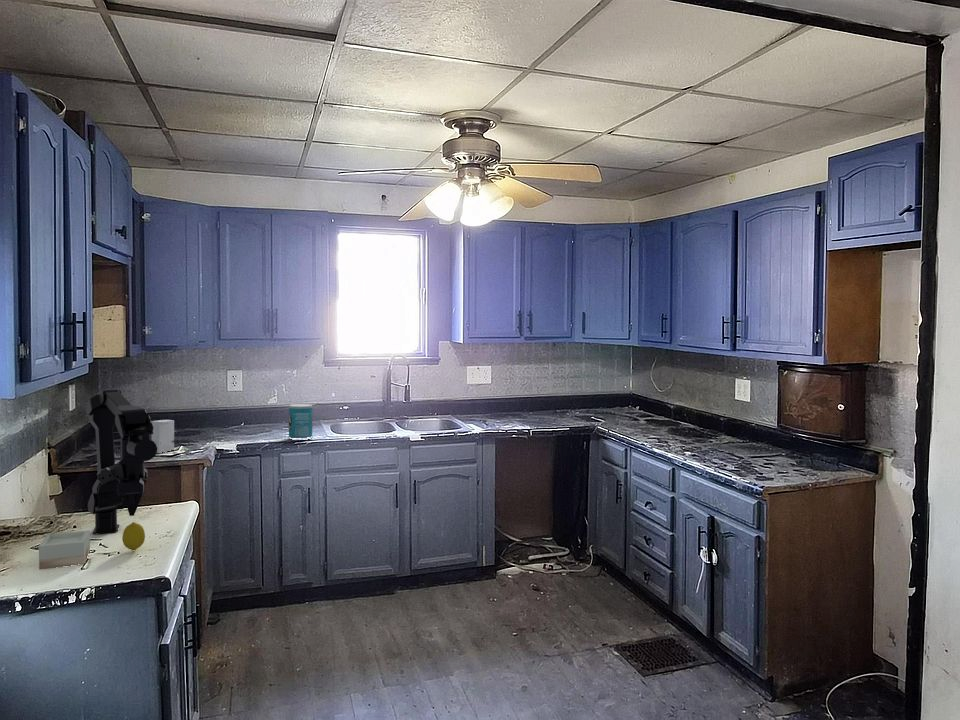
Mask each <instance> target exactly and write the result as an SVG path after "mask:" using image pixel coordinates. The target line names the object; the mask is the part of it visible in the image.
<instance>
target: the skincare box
mask: <svg viewBox="0 0 960 720" xmlns="http://www.w3.org/2000/svg"><path fill="white" fill-rule="evenodd" d="M151 422H152V425H153V427H154V428H153V434H151V440H152V441H153V442H155V444H156V446H157V453H161V454H163V453H162V452H167V451H171V450H174V451H175V420H174V419H173V420H172V419H160V420H151ZM157 453H156V454H157ZM167 453H168V452H167Z"/></svg>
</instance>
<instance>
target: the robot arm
mask: <svg viewBox="0 0 960 720" xmlns="http://www.w3.org/2000/svg"><path fill="white" fill-rule="evenodd" d="M85 413H86V415H87V416H88V417H87V418H88V421H89V423H90V424H91V425H92V427H93V428H94V431H95V432H94V433H95V445H96V446H95V447H96V465H97V473H96V476H97V479H96V481H95V482H94V484H93V486H92V489H91V490H92V493H91V494H90V497H89V499H88V502H87V511H88V512H89V513H91V514H92V515H94V524H95V525H94V528H93V531H92V535H97V534H96V533H100V534H104V533H103V532H111V533H114V532H113V531H117V532H118V531H119V529H120V524H118V513H117V512H118V510H124V508H125V506H126V508H127V511H128V515H129V517H132V516H133V517H134V516H135V515H136V511H137V509H138V507H139V504H140V502H141V499H142V497H143V495H144V491H145V486H146V484H147V480H148V469H147V468H146V467H145V462H147V461H150V460H152V459H154V458H155V457H156V455H157V446H156V444H155V442H153V441H152V439H150V435H152V434H153V428H154V427H153V425H152V422H151V421H152V420H151V417H150V415H149V413H148V412H147V410H146V409H145V408H143V407H142V406H139V405H132V404H131V403H130V401H129V400H128V399H127V398H126V397H125V396H124V395H123V394H122V391H121V389H117V388H115V389H114V388H112V389H110V388H109V389H103V390H100V391H99V393H98V394H96V395H94V396H92V397H90V398H89V400H88V401H87V402H86V404H85ZM115 426H116V429H117V432H118V434H119V436H120V459H119V461H118V463H117V464H116V462H115V461H116V459H115V457H116V456H115V443H114V442H115V441H114V427H115ZM125 504H126V505H125ZM118 528H119V529H118Z"/></svg>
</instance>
